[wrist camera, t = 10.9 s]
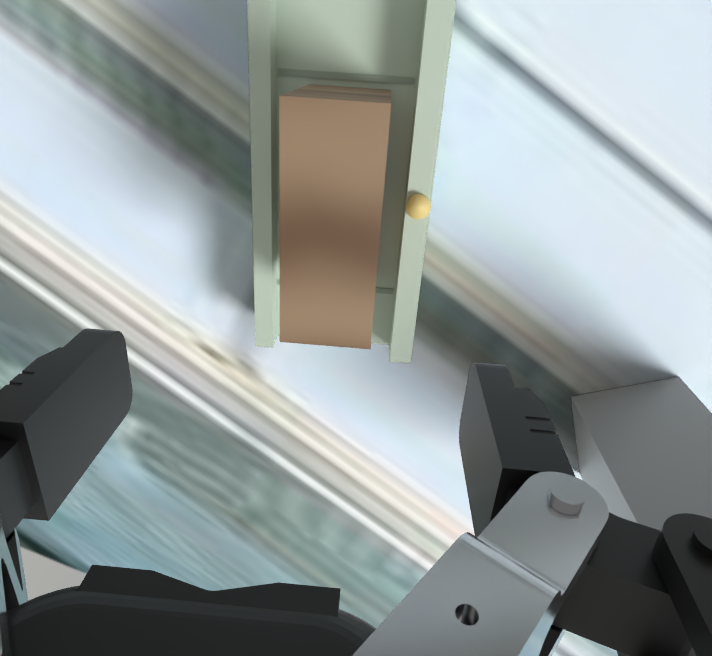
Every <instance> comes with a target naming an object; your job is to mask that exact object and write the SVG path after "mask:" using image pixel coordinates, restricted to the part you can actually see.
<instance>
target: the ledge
mask: <svg viewBox="0 0 712 656" xmlns="http://www.w3.org/2000/svg"><path fill="white" fill-rule="evenodd" d="M455 6H456V0H247V15H248V57H249V98H250V140H251V181H252V223H253V264H254V306H255V346H259V347H271V348H273V345H274V343H275V340H276V338H277V336H280V181H279V96H280V95H282V94H285V93H287V92H290V91H292V90H295V89H298V88H300V87H303V86H305V85H308V84H315V85H329V86H343V87H357V88H371V89H385V90H391V114H390V125H389V137H388V149H387V160H386V172H385V184H384V196H383V207H382V219H381V231H380V242H379V254H378V266H377V278H376V289H375V301H374V313H373V325H372V336H371V343H374V344H386V345H389V356H390V362H401V363H411V356H412V348H413V340H414V332H415V324H416V316H417V308H418V300H419V292H420V284H421V276H422V268H423V260H424V252H425V244H426V236H427V228H428V220H429V212H430V209H431V205H430V204H431V197H432V189H433V181H434V173H435V165H436V157H437V149H438V141H439V133H440V125H441V117H442V109H443V101H444V93H445V85H446V77H447V69H448V61H449V53H450V45H451V37H452V29H453V21H454V14H455Z"/></svg>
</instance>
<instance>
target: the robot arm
mask: <svg viewBox="0 0 712 656" xmlns="http://www.w3.org/2000/svg"><path fill="white" fill-rule="evenodd" d="M131 401H132V384H131V377H130V370H129V363H128V356H127V350H126V343H125V339H124V336H123V334H122V333H121V332H119V331H111V330H99V329H84V330H82V331H81V332H80V333H79V334H78V335H77V336H75V337H74V338H73V339H72V340H71V341H70V342H69V343H68V344H67V345H65V346H64V347H63V348H61V347H60V348H57V349H55V350H53V351H51V352H49V353H47V354H45V355H43V356H41V357H39V358H37V359H36V360H35V361H34V362H32V363H31V364H30V365H29V366H28V367H27V368H25V369H24V370H23V371H22V374H18V375H17V376H16V377H15V378H14V379H13V380H11V381H10V384H9V385H6V386H4V387H3V388H2V389H1V390H0V656H552V654H553V653H554V651H555V649H556V647H557V645H558V644H559V642H560V640H561V638H562V636H563V635H564V633H565V631H566V630H567V631H569V632H572V633H574V634H577V635H579V636H582V637H584V638H587V639H589V640H592V641H594V642H597V643H599V644H602V645H604V646H607V647H609V648H612V649H614V650H617V653H618V656H712V519H710V518H708V517H704V516H701V515H696V514H688V513H682V514H676V515H672V516H671V517H669V518H668V519H667V520H665V522H664V524H663V527H662V529H661V531H660V530H657V529H654V528H651V527H648V526H645V525H642V524H639V523H636V522H633V521H629V520H626V519H624V518H621V517H618V516H616V515H614V514H612V513H610V512H609V511H608V506H607V504H606V502H605V500H604V499H603V497H602V496H601V495H600V494H599V492H598V491H596V490H595V489H594V488H593V487H592V486H590V485H589V484H588V483H586V482H584V481H582V480H581V479H578V478H576V477H575V475H574V472H573V470H572V468H571V465H570V463H569V461H568V458H567V456H566V454H565V451H564V449H563V447H562V444H561V442H560V440H559V437H558V435H556V431H555V428H554V426H553V424H552V422H551V421H550V417H549V414H548V412H547V410H546V407H545V405H544V403H543V402H542V401H541V400H540V399H539V398H538V397H537V396H536V395H535V394H534V393H532V392H531V391H530V390H529V389H526V388H515V387H514V384H513V382H512V379H511V376H510V373H509V371H508V368H507V366H506V365H499V364H487V363H476V362H473V363H472V364H471V367H470V371H469V376H468V381H467V386H466V392H465V397H464V403H463V408H462V413H461V419H460V429H459V443H460V450H461V456H462V462H463V468H464V474H465V480H466V485H467V491H468V497H469V503H470V509H471V515H472V521H473V527H474V533H475V536H474V535H472V534H470V533H468V532H467V533H464V534H463V535H461V536H460V537H459V538H458V539H457V540H456V541H455V542H454V543H453V545H452V546H451V547H450V548H449V549H448V550H447V551H446V552H445V553H444V555H443V556H442V557H441V558H440V559H439V560H438V561H437V562H436V563H435V564H434V566H433V567H432V568H431V569H430V570H429V571H428V572H427V573H426V574H425V576H424V577H423V578H422V579H421V580H420V581H419V582H418V583H417V584H416V585H415V587H414V588H413V589H412V590H411V591H410V592H409V593H408V594H407V595H406V597H405V598H404V599H403V600H402V601H401V602H400V603H399V604H398V605H397V606H396V608H395V609H394V610H393V611H392V612H391V613H390V614H389V615H388V616H387V618H386V619H385V620H384V621H383V622H382V623H381V624H380V625H379V626H378V628H377V629H376V628H375V627H373V626H372V625H370V624H369V623H367V622H366V621H364V620H362V619H360V618H358V617H356V616H355V615H353V614H351V613H348V612H345V611H343V610H340V609H339V600H340V589H339V588H328V587H318V586H308V585H297V584H287V583H273V584H265V585H258V586H250V587H243V588H235V589H227V590H220V591H208V590H205V589H202V588H199V587H196V586H193V585H191V584H188V583H185V582H183V581H180V580H177V579H174V578H172V577H169V576H166V575H163V574H161V573H158V572H155V571H152V570H142V569H131V568H121V567H110V566H100V565H92V566H91V568H90V569H89V571H88V573H87V574H86V576H85V578H84V580H83V581H82V583H81V585H80V586H75V587H70V588H66V589H61V590H57V591H54V592H51V593H48V594H45V595H42V596H39V597H36V598H34V599H32V600H30V601H28V596H27V589H26V583H25V576H24V570H23V564H22V557H21V550H20V544H19V538H18V535H17V531H16V527H17V525H18V524H19V523H20V521H21V520H22V519H23V518H26V519H36V520H47V521H49V520H50V519H51V517H52V516H53V514H54V513H55V512H56V510H57V509H58V508H59V506H60V505H61V504H62V502H63V501H64V499H65V498H66V497H67V495H68V494H69V493H70V491H71V490H72V489H73V487H74V486H75V485H76V483H77V482H78V480H79V479H80V478H81V476H82V475H83V474H84V472H85V471H86V470H87V468H88V467H89V465H90V464H91V463H92V461H93V460H94V459H95V457H96V456H97V455H98V453H99V452H100V450H101V449H102V448H103V446H104V445H105V444H106V442H107V441H108V440H109V438H110V437H111V436H112V434H113V433H114V431H115V430H116V429H117V427H118V426H119V425H120V423H121V422H122V421H123V419H124V418H125V416H126V415H127V413H128V411H129V409H130V405H131Z"/></svg>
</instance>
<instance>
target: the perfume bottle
mask: <svg viewBox="0 0 712 656" xmlns="http://www.w3.org/2000/svg"><path fill="white" fill-rule="evenodd" d="M571 403H572V411H573V420H574V428H575V436H576V445H577V453H578V462H579V470H580V475H581V477H582V479H583V481H584V482H586V483H588V484H589V485H590V486H592V487H593V488H594V489H595V490H596V491H598V492H599V494H600V495H601V496H602V497H603V499H604V500H605V502H606V504H607V506H608V511H609V512H610V513H612V514H614V515H616V516H618V517H621V518H624V519H626V520H629V521H633V522H636V523H639V524H642V525H645V526H648V527H651V528H654V529H657V530H660V531H661V529H662V527H663V524H664V522H665V520H667V519H668V518H669V517H671V516H672V515H676V514H682V513H688V514H696V515H701V516H704V517H708V518H710V519H712V413H711V412H710V411H709V410H708V409H707V408H706V407H705V405H704V404H703V403H702V402H701V401H700V400H699V399H698V398H697V396H696V395H695V394H694V393H693V392H692V391H691V390H690V389H689V388H688V386H687V385H686V384H685V383H684V382H683V381H682V380H681V379H680V377H674V378H669V379H663V380H658V381H652V382H647V383H642V384H636V385H631V386H625V387H620V388H615V389H609V390H604V391H598V392H593V393H588V394H582V395H577V396H571Z"/></svg>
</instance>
